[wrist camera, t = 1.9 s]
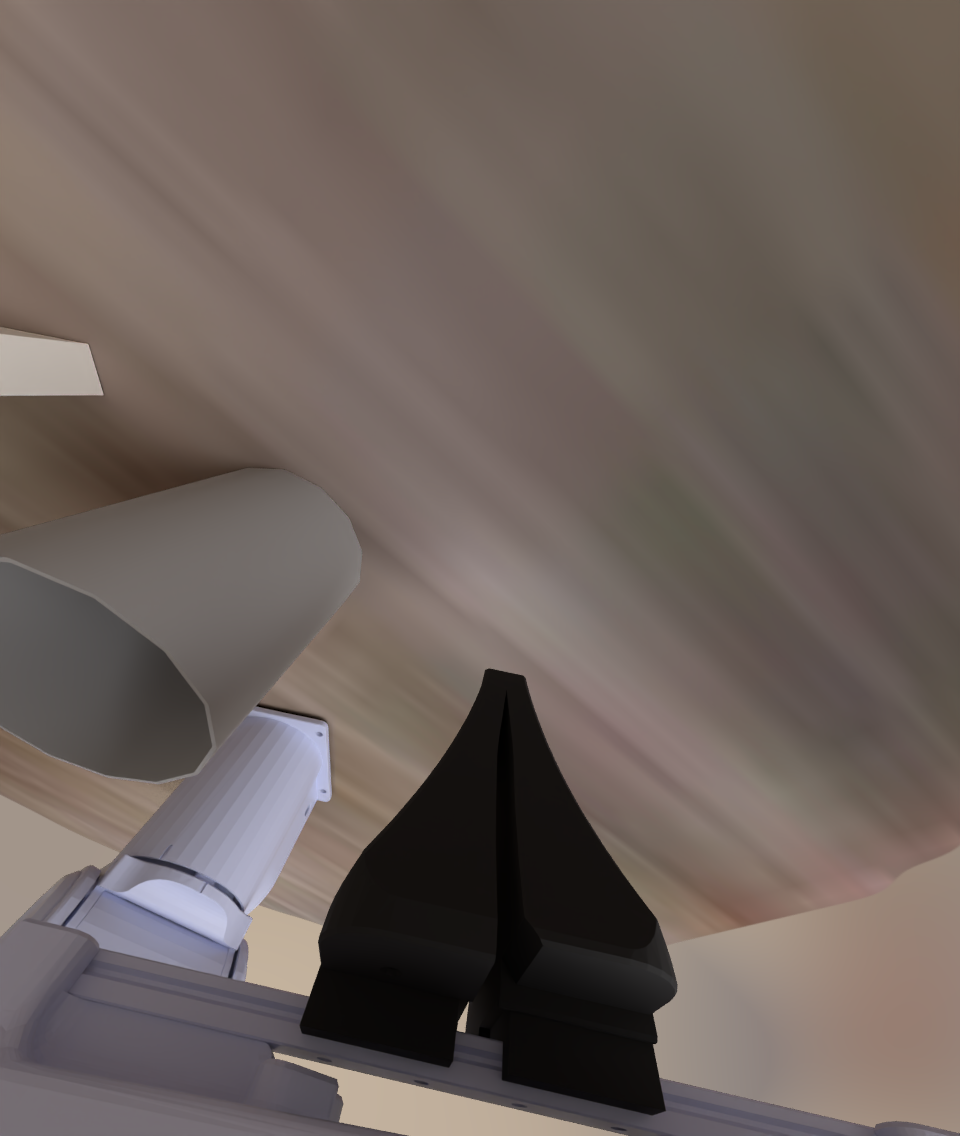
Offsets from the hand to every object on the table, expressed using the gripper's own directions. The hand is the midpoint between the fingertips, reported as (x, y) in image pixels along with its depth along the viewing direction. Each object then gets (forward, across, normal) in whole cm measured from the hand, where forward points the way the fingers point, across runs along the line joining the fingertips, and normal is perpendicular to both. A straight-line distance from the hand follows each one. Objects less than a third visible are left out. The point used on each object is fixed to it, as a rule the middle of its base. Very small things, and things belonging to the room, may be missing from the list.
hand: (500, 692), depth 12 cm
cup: (+7, +12, 0) cm, 14 cm away
